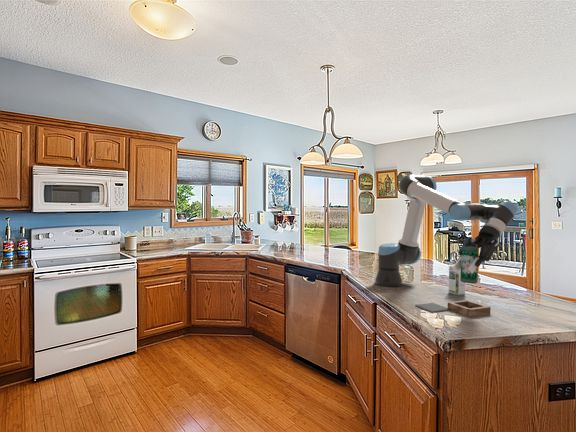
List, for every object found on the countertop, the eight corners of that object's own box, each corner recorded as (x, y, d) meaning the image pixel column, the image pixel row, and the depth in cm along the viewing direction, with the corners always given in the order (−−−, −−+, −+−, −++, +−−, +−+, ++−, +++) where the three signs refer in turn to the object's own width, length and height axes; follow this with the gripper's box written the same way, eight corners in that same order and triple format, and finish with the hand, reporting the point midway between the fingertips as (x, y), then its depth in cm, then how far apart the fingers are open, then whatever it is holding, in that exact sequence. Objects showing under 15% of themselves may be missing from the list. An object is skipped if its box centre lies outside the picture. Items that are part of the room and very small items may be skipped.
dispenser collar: (447, 309, 144) (447, 302, 143) (467, 306, 147) (467, 299, 147) (470, 317, 133) (470, 309, 133) (490, 314, 137) (490, 307, 137)
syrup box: (447, 292, 172) (448, 265, 172) (456, 291, 174) (456, 264, 174) (456, 295, 167) (457, 267, 167) (465, 294, 169) (466, 266, 169)
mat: (415, 306, 148) (415, 304, 148) (432, 304, 151) (432, 302, 151) (432, 312, 138) (432, 311, 138) (450, 310, 142) (450, 308, 142)
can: (458, 281, 140) (459, 246, 139) (463, 279, 144) (464, 245, 144) (474, 284, 136) (475, 248, 135) (479, 281, 140) (479, 246, 139)
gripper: (517, 238, 135) (488, 280, 130) (476, 234, 154) (449, 271, 149) (509, 225, 134) (478, 267, 128) (468, 223, 152) (440, 260, 147)
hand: (462, 269), depth 139 cm, fingers closed on can, 6 cm apart
